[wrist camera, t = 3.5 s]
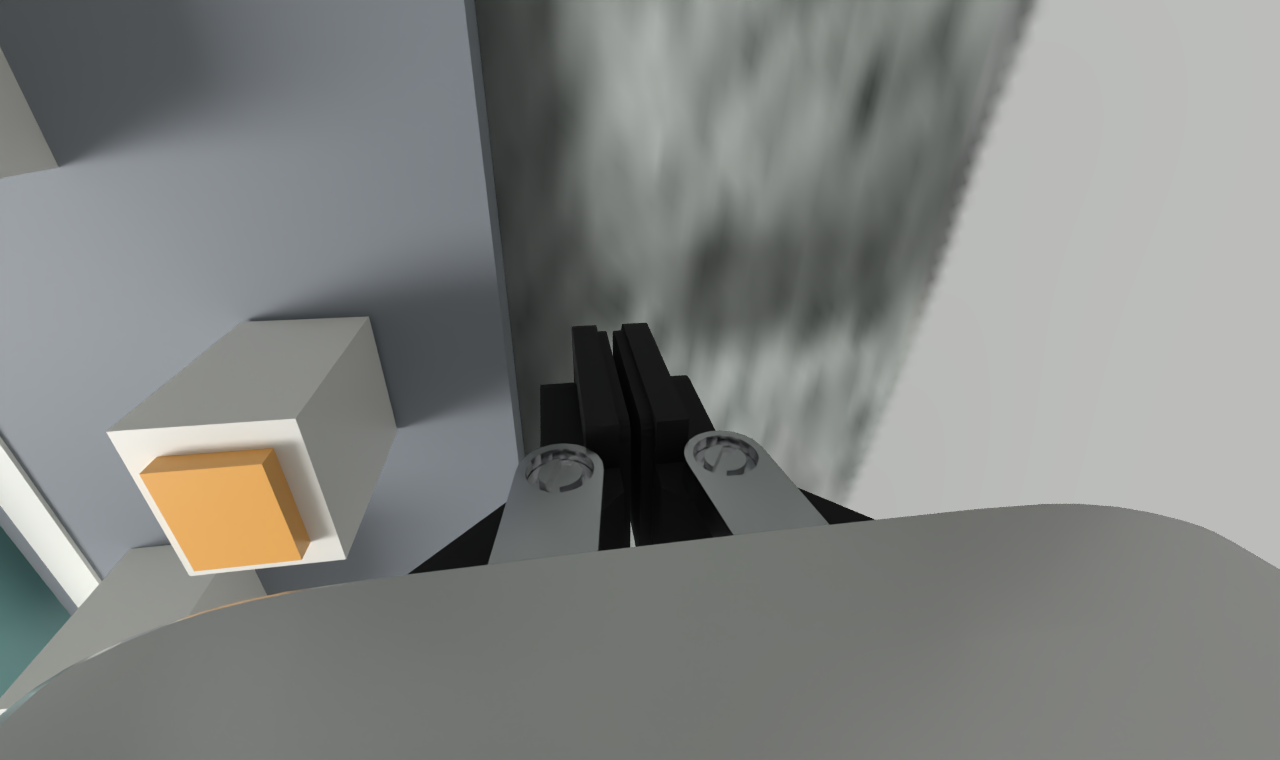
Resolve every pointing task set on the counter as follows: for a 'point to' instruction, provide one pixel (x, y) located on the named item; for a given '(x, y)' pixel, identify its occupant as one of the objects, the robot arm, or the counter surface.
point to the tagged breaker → (264, 445)
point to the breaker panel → (239, 270)
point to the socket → (23, 613)
